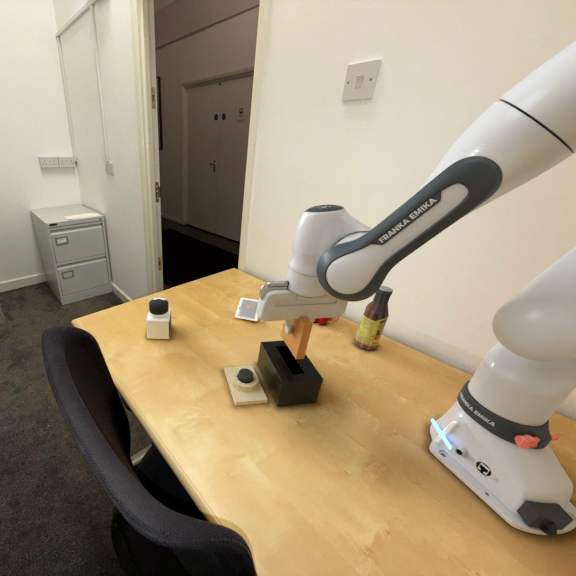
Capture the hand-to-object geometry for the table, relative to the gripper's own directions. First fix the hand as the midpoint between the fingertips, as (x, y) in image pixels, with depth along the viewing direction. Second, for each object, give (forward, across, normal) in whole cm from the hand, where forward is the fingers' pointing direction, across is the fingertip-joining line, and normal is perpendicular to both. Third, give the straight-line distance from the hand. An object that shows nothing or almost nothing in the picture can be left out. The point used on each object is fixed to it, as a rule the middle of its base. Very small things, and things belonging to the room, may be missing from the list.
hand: (295, 331), depth 71 cm
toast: (+5, 0, 0) cm, 5 cm away
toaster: (+16, 0, 0) cm, 16 cm away
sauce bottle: (+16, +32, +12) cm, 38 cm away
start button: (+14, -11, 0) cm, 18 cm away
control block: (+16, -11, 0) cm, 20 cm away
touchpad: (+17, +1, +35) cm, 39 cm away
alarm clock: (+17, +24, +29) cm, 41 cm away
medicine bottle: (+17, -32, +25) cm, 44 cm away
